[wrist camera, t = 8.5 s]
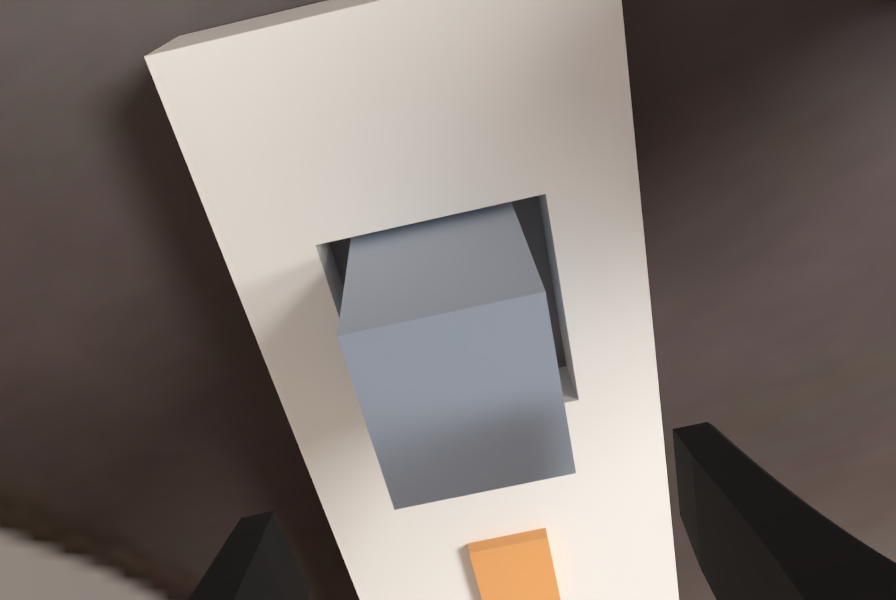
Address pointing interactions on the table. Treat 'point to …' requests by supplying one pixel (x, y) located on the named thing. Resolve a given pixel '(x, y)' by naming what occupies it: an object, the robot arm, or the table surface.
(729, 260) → the table surface
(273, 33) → the power strip
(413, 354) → the plug
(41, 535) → the table surface
